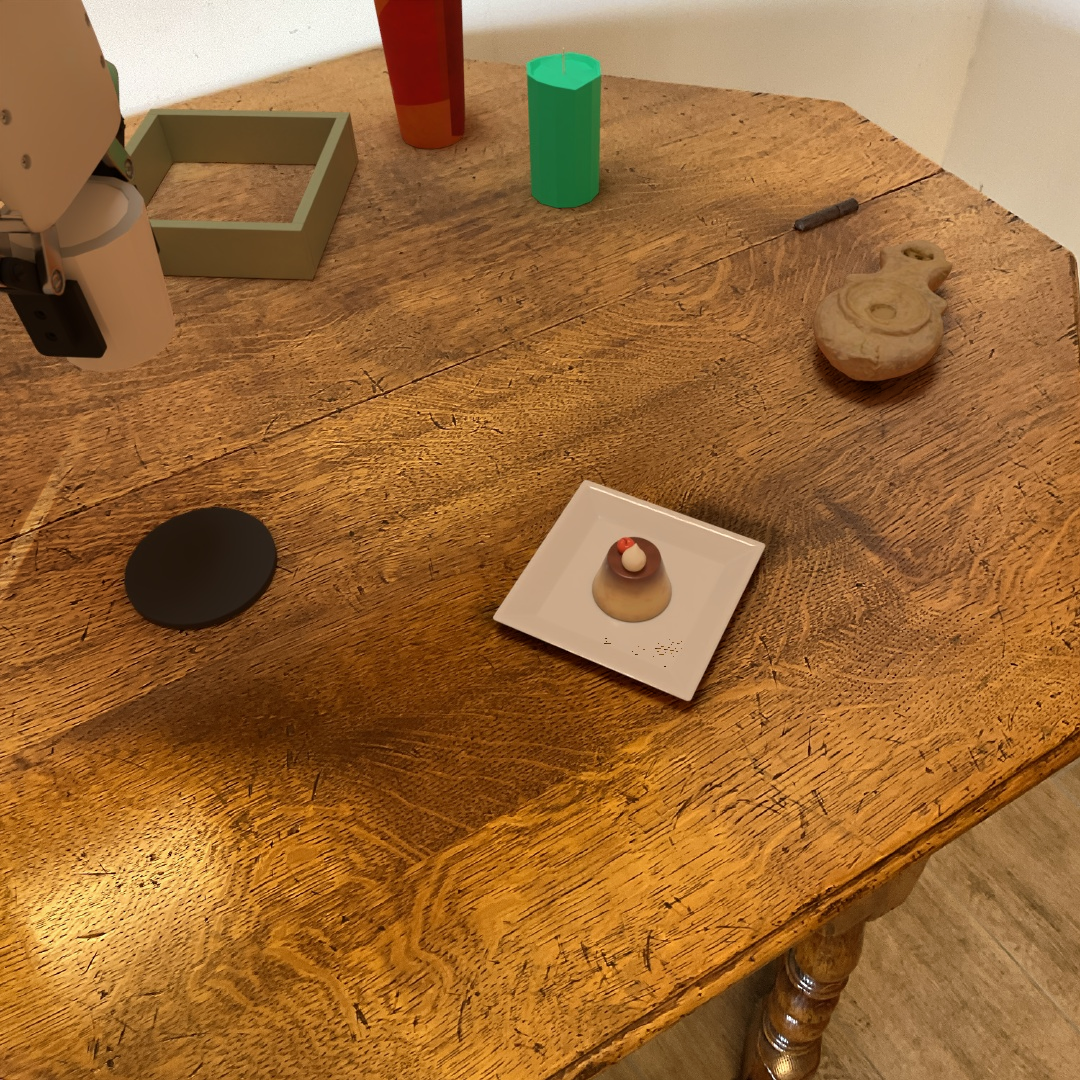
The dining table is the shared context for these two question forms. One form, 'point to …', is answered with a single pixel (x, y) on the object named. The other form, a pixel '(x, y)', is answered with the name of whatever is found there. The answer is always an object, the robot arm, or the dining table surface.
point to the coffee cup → (425, 68)
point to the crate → (247, 141)
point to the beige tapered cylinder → (112, 271)
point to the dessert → (633, 587)
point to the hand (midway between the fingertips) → (102, 300)
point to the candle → (564, 128)
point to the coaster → (200, 568)
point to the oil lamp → (886, 314)
